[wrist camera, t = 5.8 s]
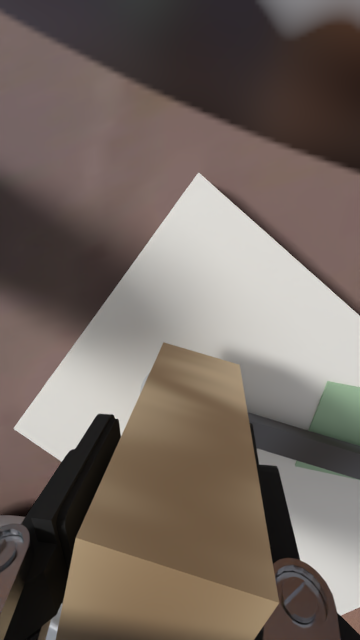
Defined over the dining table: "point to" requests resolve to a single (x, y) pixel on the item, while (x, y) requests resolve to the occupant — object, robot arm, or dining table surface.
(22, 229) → the dining table surface
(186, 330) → the dial board
